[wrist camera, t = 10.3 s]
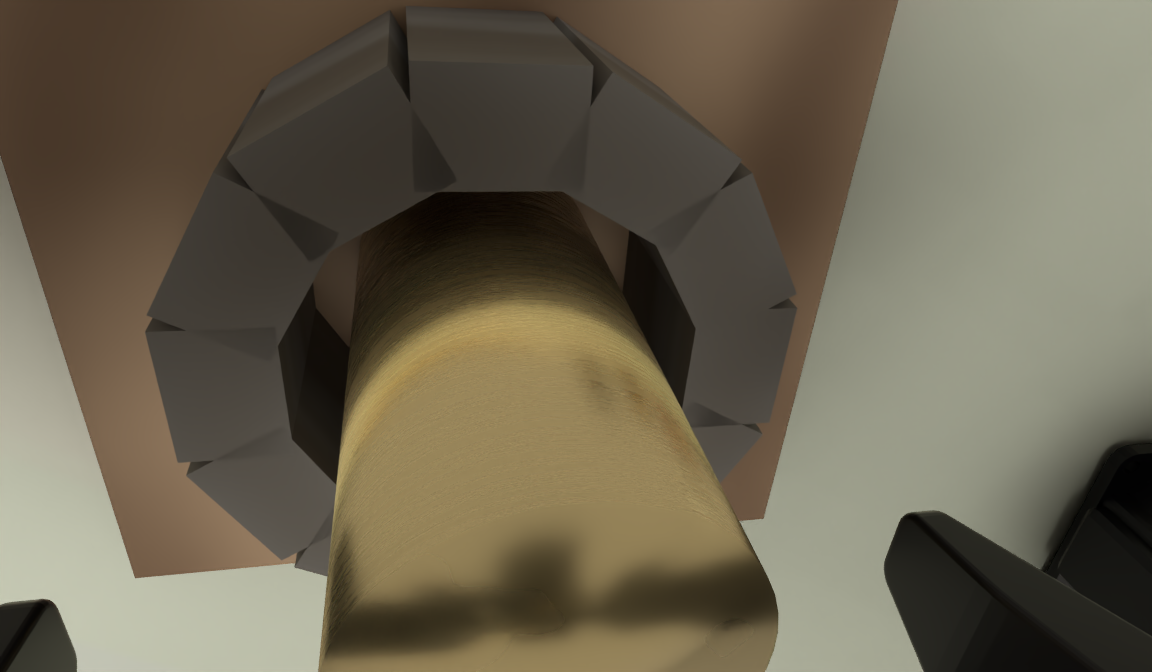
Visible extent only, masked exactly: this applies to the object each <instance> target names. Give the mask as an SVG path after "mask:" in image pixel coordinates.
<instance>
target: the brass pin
mask: <svg viewBox="0 0 1152 672" xmlns="http://www.w3.org/2000/svg"><path fill="white" fill-rule="evenodd" d="M777 633H778V609H777V603H776V597H775V593H774V591H773V589H772V586H771V584H770V581H769V579H768V577H767V575H766V573H765V571H764V569H763V567H762V565H761V563H760V561H759V559H758V557H757V555H756V553H755V551H754V549H753V547H752V545H751V543H750V541H749V539H748V538H747V536H746V534H745V532H744V530H743V528H742V526H741V524H740V522H739V520H738V518H737V516H736V514H735V512H734V510H733V508H732V506H731V504H730V502H729V500H728V498H727V497H726V495H725V493H724V491H723V489H722V487H721V485H720V483H719V481H718V479H717V477H716V475H715V473H714V471H713V469H712V467H711V465H710V463H709V461H708V459H707V457H706V456H705V454H704V452H703V450H702V448H701V446H700V444H699V442H698V440H697V438H696V436H695V434H694V432H693V430H692V428H691V426H690V424H689V422H688V420H687V418H686V417H685V415H684V413H683V411H682V409H681V407H680V405H679V403H678V401H677V399H676V397H675V395H674V393H673V391H672V389H671V387H670V385H669V383H668V381H667V379H666V377H665V376H664V374H663V372H662V370H661V368H660V366H659V364H658V362H657V360H656V358H655V356H654V354H653V352H652V350H651V348H650V346H649V344H648V342H647V340H646V338H645V336H644V335H643V333H642V331H641V329H640V327H639V325H638V323H637V321H636V319H635V317H634V315H633V313H632V311H631V309H630V307H629V305H628V303H627V301H626V299H625V297H624V295H623V294H622V292H621V290H620V288H619V286H618V284H617V282H616V280H615V278H614V276H613V274H612V272H611V270H610V268H609V266H608V264H607V262H606V260H605V258H604V256H603V254H602V253H601V251H600V249H599V247H598V245H597V243H596V241H595V239H594V237H593V235H592V233H591V231H590V229H589V227H588V225H587V223H586V221H585V219H584V217H583V215H582V213H581V212H580V210H579V208H578V206H577V205H576V203H575V201H574V200H573V198H572V197H571V196H569V195H568V194H566V193H564V192H562V191H513V192H437V193H435V194H433V195H431V196H429V197H428V198H426V199H424V200H422V201H420V202H418V203H417V204H415V205H413V206H411V207H409V208H408V209H406V210H404V211H402V212H400V213H399V214H397V215H395V216H393V217H391V218H390V219H388V220H386V221H384V222H382V223H380V224H379V225H377V226H375V227H373V228H371V229H370V230H368V231H366V232H364V233H362V237H361V243H360V250H359V259H358V269H357V279H356V289H355V300H354V310H353V320H352V331H351V341H350V351H349V361H348V372H347V382H346V392H345V402H344V413H343V423H342V433H341V443H340V454H339V464H338V474H337V484H336V495H335V505H334V515H333V525H332V536H331V546H330V556H329V566H328V577H327V587H326V597H325V607H324V618H323V628H322V638H321V648H320V659H319V669H318V672H765V670H766V669H767V666H768V663H769V661H770V658H771V656H772V653H773V651H774V647H775V642H776V638H777Z"/></svg>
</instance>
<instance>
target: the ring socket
mask: <svg viewBox="0 0 1152 672" xmlns="http://www.w3.org/2000/svg"><path fill="white" fill-rule="evenodd" d="M897 3H898V0H0V156H1V159H2V162H3V165H4V168H5V171H6V174H7V178H8V181H9V184H10V187H11V190H12V193H13V196H14V200H15V203H16V206H17V209H18V212H19V215H20V218H21V221H22V225H23V228H24V231H25V234H26V237H27V240H28V243H29V247H30V250H31V253H32V256H33V259H34V262H35V265H36V269H37V272H38V275H39V278H40V281H41V284H42V287H43V291H44V294H45V297H46V300H47V303H48V306H49V309H50V312H51V316H52V319H53V322H54V325H55V328H56V331H57V334H58V338H59V341H60V344H61V347H62V350H63V353H64V356H65V360H66V363H67V366H68V369H69V372H70V375H71V378H72V382H73V385H74V388H75V391H76V394H77V397H78V400H79V403H80V407H81V410H82V413H83V416H84V419H85V422H86V425H87V429H88V432H89V435H90V438H91V441H92V444H93V447H94V451H95V454H96V457H97V460H98V463H99V466H100V469H101V473H102V476H103V479H104V482H105V485H106V488H107V491H108V495H109V498H110V501H111V504H112V507H113V510H114V513H115V516H116V520H117V523H118V526H119V529H120V532H121V535H122V538H123V542H124V545H125V548H126V551H127V554H128V557H129V560H130V564H131V567H132V570H133V573H134V576H135V578H141V577H152V576H163V575H173V574H184V573H194V572H205V571H215V570H226V569H236V568H247V567H258V566H268V565H279V564H289V563H295V568H299V569H303V570H306V571H310V572H313V573H317V574H321V575H324V576H328V566H329V556H330V546H331V536H332V525H333V515H334V505H335V495H336V484H337V474H338V464H339V454H340V443H341V433H342V423H343V413H344V402H345V392H346V382H347V372H348V361H349V351H350V341H351V331H352V320H353V310H354V300H355V289H356V279H357V269H358V259H359V250H360V243H361V237H362V233H364V232H366V231H368V230H370V229H371V228H373V227H375V226H377V225H379V224H380V223H382V222H384V221H386V220H388V219H390V218H391V217H393V216H395V215H397V214H399V213H400V212H402V211H404V210H406V209H408V208H409V207H411V206H413V205H415V204H417V203H418V202H420V201H422V200H424V199H426V198H428V197H429V196H431V195H433V194H435V193H437V192H513V191H562V192H564V193H566V194H568V195H569V196H571V197H572V198H573V200H574V201H575V203H576V205H577V206H578V208H579V210H580V212H581V213H582V215H583V217H584V219H585V221H586V223H587V225H588V227H589V229H590V231H591V233H592V235H593V237H594V239H595V241H596V243H597V245H598V247H599V249H600V251H601V253H602V254H603V256H604V258H605V260H606V262H607V264H608V266H609V268H610V270H611V272H612V274H613V276H614V278H615V280H616V282H617V284H618V286H619V288H620V290H621V292H622V294H623V295H624V297H625V299H626V301H627V303H628V305H629V307H630V309H631V311H632V313H633V315H634V317H635V319H636V321H637V323H638V325H639V327H640V329H641V331H642V333H643V335H644V336H645V338H646V340H647V342H648V344H649V346H650V348H651V350H652V352H653V354H654V356H655V358H656V360H657V362H658V364H659V366H660V368H661V370H662V372H663V374H664V376H665V377H666V379H667V381H668V383H669V385H670V387H671V389H672V391H673V393H674V395H675V397H676V399H677V401H678V403H679V405H680V407H681V409H682V411H683V413H684V415H685V417H686V418H687V420H688V422H689V424H690V426H691V428H692V430H693V432H694V434H695V436H696V438H697V440H698V442H699V444H700V446H701V448H702V450H703V452H704V454H705V456H706V457H707V459H708V461H709V463H710V465H711V467H712V469H713V471H714V473H715V475H716V477H717V479H718V481H719V483H720V485H721V487H722V489H723V491H724V493H725V495H726V497H727V498H728V500H729V502H730V504H731V506H732V508H733V510H734V512H735V514H736V516H737V518H738V520H739V521H743V520H754V519H763V518H764V514H765V510H766V506H767V503H768V499H769V495H770V491H771V487H772V483H773V480H774V476H775V472H776V468H777V464H778V460H779V457H780V453H781V449H782V445H783V441H784V437H785V433H786V430H787V426H788V422H789V418H790V414H791V410H792V407H793V403H794V399H795V395H796V391H797V387H798V383H799V380H800V376H801V372H802V368H803V364H804V360H805V357H806V353H807V349H808V345H809V341H810V337H811V334H812V330H813V326H814V322H815V318H816V314H817V310H818V307H819V303H820V299H821V295H822V291H823V287H824V284H825V280H826V276H827V272H828V268H829V264H830V260H831V257H832V253H833V249H834V245H835V241H836V237H837V234H838V230H839V226H840V222H841V218H842V214H843V211H844V207H845V203H846V199H847V195H848V191H849V187H850V184H851V180H852V176H853V172H854V168H855V164H856V161H857V157H858V153H859V149H860V145H861V141H862V137H863V134H864V130H865V126H866V122H867V118H868V114H869V111H870V107H871V103H872V99H873V95H874V91H875V88H876V84H877V80H878V76H879V72H880V68H881V64H882V61H883V57H884V53H885V49H886V45H887V41H888V38H889V34H890V30H891V26H892V22H893V18H894V14H895V11H896V7H897Z"/></svg>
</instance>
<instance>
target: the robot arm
mask: <svg viewBox="0 0 1152 672" xmlns="http://www.w3.org/2000/svg"><path fill="white" fill-rule="evenodd" d="M884 574H885V579H886V582H887V585H888V587H889V590H890V592H891V595H892V597H893V599H894V602H895V604H896V607H897V609H898V611H899V614H900V616H901V619H902V621H903V623H904V626H905V628H906V631H907V633H908V635H909V638H910V640H911V643H912V645H913V647H914V650H915V652H916V655H917V657H918V659H919V662H920V664H921V667H922V669H923V671H924V672H1152V444H1139V445H1128V446H1124V447H1121V448H1120V449H1118V450H1116V451H1115V452H1114V453H1112V454H1111V455H1110V457H1109V458H1108V459H1107V461H1106V463H1105V465H1104V467H1103V469H1102V470H1101V472H1100V474H1099V476H1098V478H1097V480H1096V482H1095V483H1094V485H1093V487H1092V489H1091V491H1090V493H1089V495H1088V496H1087V498H1086V500H1085V502H1084V504H1083V506H1082V507H1081V509H1080V511H1079V513H1078V515H1077V517H1076V519H1075V520H1074V522H1073V524H1072V526H1071V528H1070V530H1069V532H1068V533H1067V535H1066V537H1065V539H1064V541H1063V543H1062V545H1061V546H1060V548H1059V550H1058V552H1057V554H1056V556H1055V558H1054V559H1053V561H1052V563H1051V565H1050V567H1049V569H1048V571H1047V572H1046V573H1044V572H1043V571H1041V570H1039V569H1038V568H1036V567H1034V566H1033V565H1031V564H1029V563H1028V562H1026V561H1024V560H1022V559H1021V558H1019V557H1017V556H1016V555H1014V554H1012V553H1011V552H1009V551H1007V550H1006V549H1004V548H1002V547H1001V546H999V545H997V544H996V543H994V542H992V541H991V540H989V539H987V538H986V537H984V536H982V535H980V534H979V533H977V532H975V531H974V530H972V529H970V528H969V527H967V526H965V525H964V524H962V523H960V522H959V521H957V520H955V519H954V518H952V517H950V516H949V515H947V514H945V513H943V512H940V511H935V510H932V511H921V512H911V513H908V514H906V515H904V516H903V517H902V518H901V520H900V522H899V524H898V527H897V529H896V532H895V535H894V537H893V540H892V542H891V545H890V548H889V550H888V553H887V555H886V558H885V562H884ZM0 672H77V658H76V653H75V650H74V647H73V645H72V642H71V640H70V638H69V635H68V633H67V630H66V628H65V625H64V623H63V620H62V618H61V615H60V613H59V610H58V608H57V607H56V605H55V604H54V603H53V602H52V601H50V600H46V599H38V600H28V601H18V602H9V603H5V604H2V605H0Z"/></svg>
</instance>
